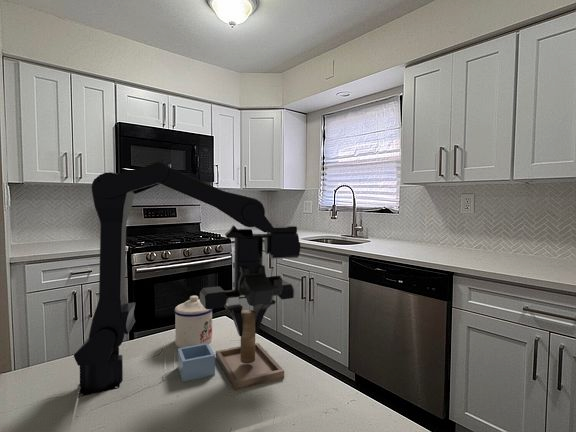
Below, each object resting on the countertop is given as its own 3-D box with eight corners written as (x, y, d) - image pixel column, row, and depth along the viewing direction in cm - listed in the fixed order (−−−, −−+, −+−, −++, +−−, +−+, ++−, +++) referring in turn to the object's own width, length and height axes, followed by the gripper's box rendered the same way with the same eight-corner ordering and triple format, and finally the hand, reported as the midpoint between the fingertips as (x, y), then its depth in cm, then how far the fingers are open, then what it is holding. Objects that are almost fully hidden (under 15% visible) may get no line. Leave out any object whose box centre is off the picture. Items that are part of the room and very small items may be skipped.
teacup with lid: (207, 352, 76) (207, 302, 76) (168, 351, 76) (168, 301, 76) (219, 331, 88) (219, 288, 88) (185, 331, 88) (185, 288, 88)
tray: (234, 393, 60) (234, 382, 60) (215, 360, 72) (215, 351, 72) (284, 380, 64) (284, 370, 64) (258, 351, 77) (258, 342, 77)
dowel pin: (243, 364, 66) (243, 315, 66) (238, 358, 69) (238, 311, 69) (257, 361, 68) (257, 313, 67) (252, 355, 70) (252, 309, 70)
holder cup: (182, 385, 62) (182, 361, 62) (177, 369, 68) (177, 348, 68) (215, 377, 65) (215, 355, 65) (207, 363, 71) (207, 343, 71)
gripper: (212, 270, 56) (212, 360, 57) (307, 262, 64) (306, 341, 65) (199, 259, 66) (199, 336, 67) (283, 254, 74) (282, 322, 75)
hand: (247, 334), depth 68 cm, fingers closed on dowel pin, 3 cm apart
